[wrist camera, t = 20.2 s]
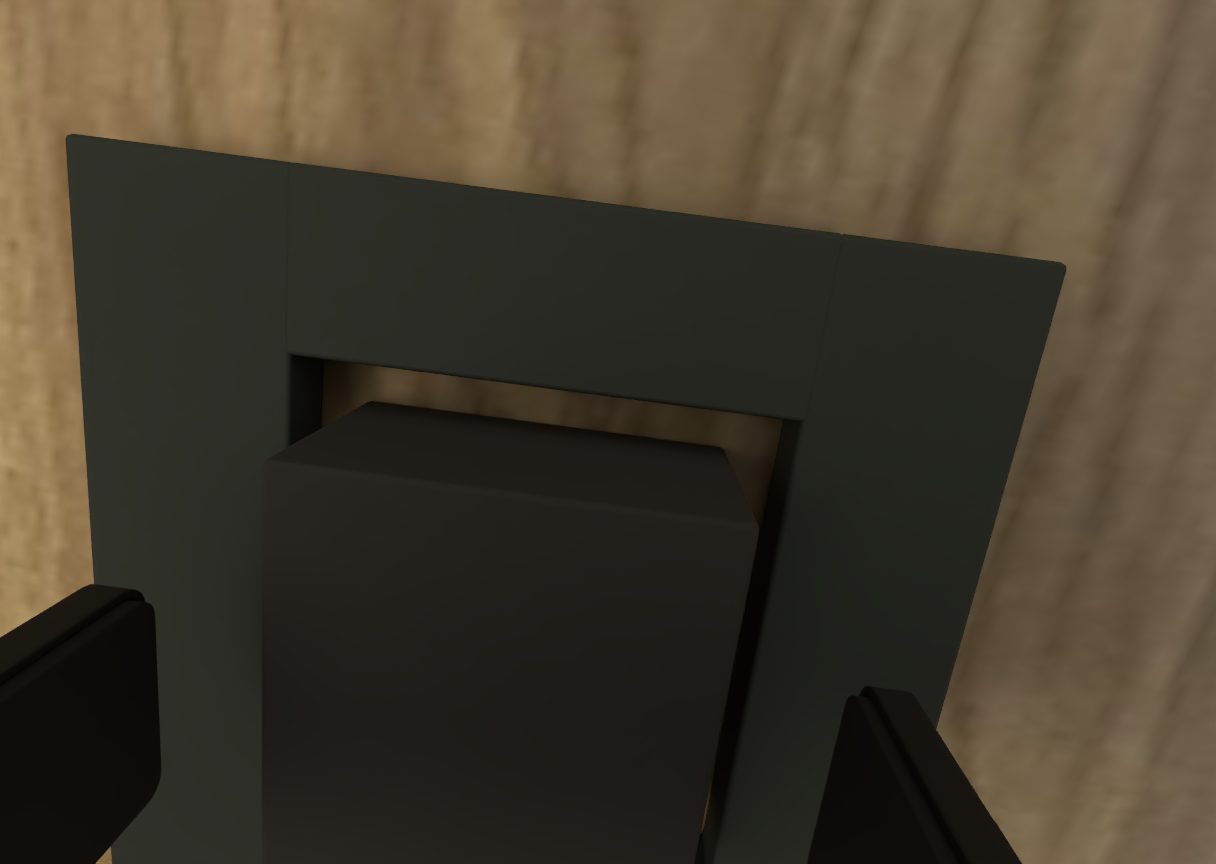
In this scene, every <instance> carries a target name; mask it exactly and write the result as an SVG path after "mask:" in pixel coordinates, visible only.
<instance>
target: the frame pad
mask: <svg viewBox="0 0 1216 864" xmlns="http://www.w3.org/2000/svg"><path fill="white" fill-rule="evenodd" d="M66 151H67V167H68V183H69V198H70V214H71V229H72V245H73V261H74V276H75V292H76V307H77V323H78V339H79V354H80V370H81V385H82V401H83V417H84V432H85V448H86V463H87V479H88V495H89V510H90V526H91V541H92V557H93V573H94V584H98V585H105V586H113V587H120V588H128V589H136V590H138V591H140V592H141V593H142V594H143V596H144V598H145V602H148V603H150V604H152V606H153V608H154V611H155V621H156V646H157V670H158V695H159V720H160V744H161V778H160V782H159V785H158V787H157V790H156V792H155V794H154V796H153V797H152V799H151V800H150V802H149V803H148V804H147V805H146V807H145V808H144V809H143V810H142V811H141V812H140V813H139V814H138V816H137V817H136V818H135V819H134V820H133V821H132V822H131V824H130V825H129V826H128V827H127V828H126V829H125V830H124V831H123V833H122V834H121V835H120V836H119V837H118V838H117V839H116V841H115V842H114V843H113V844H112V845H111V854H112V864H262V563H263V465H264V462H265V460H266V459H268V458H270V457H271V456H273V455H275V454H277V453H279V452H280V451H282V450H284V449H286V448H287V447H289V446H291V445H293V444H295V443H296V442H298V441H300V440H302V439H303V438H305V437H307V436H309V435H311V434H312V433H314V432H316V431H318V430H319V429H321V390H322V359H328V360H336V361H343V362H351V363H358V364H366V365H374V366H381V367H389V368H397V369H404V370H412V371H420V372H427V373H435V374H443V375H450V376H458V377H465V378H473V379H481V380H488V381H496V382H504V383H511V384H519V385H527V386H534V387H542V388H550V389H557V390H565V391H572V392H580V393H588V394H595V395H603V396H611V397H618V398H626V399H634V400H641V401H649V402H657V403H664V404H672V405H680V406H687V407H695V408H702V409H710V410H718V411H725V412H733V413H741V414H748V415H756V416H764V417H771V418H779V419H784V420H783V425H782V430H781V435H780V440H779V445H778V450H777V456H776V461H775V466H774V471H773V476H772V481H771V486H770V492H769V497H768V502H767V507H766V512H765V517H764V522H763V528H762V533H761V538H760V543H759V548H758V553H757V558H756V564H755V569H754V574H753V579H752V584H751V589H750V594H749V600H748V605H747V610H746V615H745V620H744V625H743V630H742V636H741V641H740V646H739V651H738V656H737V661H736V666H735V672H734V677H733V682H732V687H731V692H730V697H729V702H728V708H727V713H726V718H725V723H724V728H723V733H722V738H721V744H720V749H719V754H718V759H717V764H716V769H715V774H714V780H713V785H712V790H711V795H710V800H709V805H708V810H707V815H706V821H705V826H704V831H703V836H700V837H699V843H698V848H697V853H696V858H695V863H694V864H807V861H808V855H809V851H810V847H811V843H812V839H813V834H814V830H815V826H816V822H817V818H818V814H819V810H820V806H821V801H822V797H823V793H824V789H825V785H826V781H827V777H828V773H829V769H830V764H831V760H832V756H833V752H834V748H835V744H836V740H837V736H838V731H839V727H840V723H841V719H842V715H843V711H844V707H845V703H846V701H847V699H848V697H849V696H851V695H854V696H859V695H860V692H861V691H862V689H863V688H864V687H866V686H871V687H879V688H887V689H894V690H902V691H908V692H911V693H912V694H913V695H914V696H915V697H916V699H917V701H918V702H919V704H920V705H921V707H922V709H923V710H924V712H925V713H926V715H927V716H928V718H929V720H930V721H931V723H932V724H933V726H934V727H935V729H936V728H937V724H938V721H939V717H940V714H941V710H942V707H943V703H944V700H945V696H946V693H947V689H948V686H949V682H950V679H951V675H952V671H953V668H954V664H955V661H956V657H957V654H958V650H959V647H960V643H961V640H962V636H963V633H964V629H965V626H966V622H967V619H968V615H969V611H970V608H971V604H972V601H973V597H974V594H975V590H976V587H977V583H978V580H979V576H980V573H981V569H982V566H983V562H984V559H985V555H986V551H987V548H988V544H989V541H990V537H991V534H992V530H993V527H994V523H995V520H996V516H997V513H998V509H999V506H1000V502H1001V498H1002V495H1003V491H1004V488H1005V484H1006V481H1007V477H1008V474H1009V470H1010V467H1011V463H1012V460H1013V456H1014V453H1015V449H1016V446H1017V442H1018V438H1019V435H1020V431H1021V428H1022V424H1023V421H1024V417H1025V414H1026V410H1027V407H1028V403H1029V400H1030V396H1031V393H1032V389H1033V386H1034V382H1035V378H1036V375H1037V371H1038V368H1039V364H1040V361H1041V357H1042V354H1043V350H1044V347H1045V343H1046V340H1047V336H1048V333H1049V329H1050V326H1051V322H1052V318H1053V315H1054V311H1055V308H1056V304H1057V301H1058V297H1059V294H1060V290H1061V287H1062V283H1063V280H1064V276H1065V273H1066V266H1065V265H1064V264H1062V263H1061V262H1054V261H1046V260H1038V259H1031V258H1023V257H1015V256H1007V255H1000V254H992V253H984V252H977V251H969V250H961V249H954V248H946V247H938V246H931V245H923V244H915V243H907V242H900V241H892V240H884V239H877V238H869V237H861V236H854V235H846V234H843V235H841V234H839V233H831V232H823V231H816V230H808V229H800V228H793V227H785V226H777V225H769V224H762V223H754V222H746V221H739V220H731V219H723V218H716V217H708V216H700V215H693V214H685V213H677V212H669V211H662V210H654V209H646V208H639V207H631V206H623V205H616V204H608V203H600V202H593V201H585V200H577V199H570V198H562V197H554V196H546V195H539V194H531V193H523V192H516V191H508V190H500V189H493V188H485V187H477V186H470V185H462V184H454V183H446V182H439V181H431V180H423V179H416V178H408V177H400V176H393V175H385V174H377V173H370V172H362V171H354V170H347V169H339V168H331V167H323V166H316V165H308V164H300V163H291V162H285V161H277V160H270V159H262V158H254V157H247V156H239V155H231V154H224V153H216V152H208V151H201V150H193V149H185V148H177V147H170V146H162V145H154V144H147V143H139V142H131V141H124V140H116V139H108V138H101V137H93V136H85V135H77V134H71V135H67V137H66Z"/></svg>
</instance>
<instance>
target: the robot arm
mask: <svg viewBox="0 0 1216 864" xmlns="http://www.w3.org/2000/svg"><path fill="white" fill-rule="evenodd" d="M160 778H161V744H160V720H159V695H158V670H157V646H156V621H155V611H154V608H153V606H152V604H150V603H148V602H145V598H144V596H143V594H142V593H141V592H140V591H138V590H136V589H128V588H120V587H113V586H105V585H98V584H90V585H88V586H85V587H83V588H81V589H80V590H78V591H76V592H75V593H73V594H71V595H70V596H68V597H66V598H65V599H63V600H61V601H60V602H58V603H56V604H55V605H53V606H52V607H50V608H48V609H47V610H45V611H43V612H42V613H40V614H38V615H37V616H35V617H33V618H32V619H30V620H28V621H27V622H25V623H23V624H22V625H20V626H19V627H17V628H15V629H14V630H12V631H10V632H9V633H7V634H5V635H4V636H2V637H0V864H95V863H96V862H97V861H98V860H99V859H100V858H101V856H102V855H103V854H104V853H105V852H106V851H107V850H108V848H109V847H110V846H111V845H112V844H113V843H114V842H115V841H116V839H117V838H118V837H119V836H120V835H121V834H122V833H123V831H124V830H125V829H126V828H127V827H128V826H129V825H130V824H131V822H132V821H133V820H134V819H135V818H136V817H137V816H138V814H139V813H140V812H141V811H142V810H143V809H144V808H145V807H146V805H147V804H148V803H149V802H150V800H151V799H152V797H153V796H154V794H155V792H156V790H157V787H158V785H159V782H160ZM807 864H1022V863H1021V861H1020V860H1019V858H1018V857H1017V855H1016V854H1015V852H1014V850H1013V849H1012V847H1011V846H1010V844H1009V843H1008V841H1007V839H1006V838H1005V836H1004V835H1003V833H1002V832H1001V830H1000V828H999V827H998V825H997V824H996V822H995V821H994V820H993V819H992V817H991V816H990V814H989V812H988V811H987V809H986V808H985V806H984V805H983V803H982V801H981V800H980V798H979V797H978V795H977V793H976V792H975V790H974V789H973V787H972V786H971V784H970V782H969V781H968V779H967V778H966V776H965V775H964V773H963V771H962V770H961V768H960V767H959V765H958V764H957V762H956V760H955V759H954V757H953V756H952V754H951V753H950V751H949V749H948V748H947V746H946V745H945V743H944V742H943V740H942V738H941V737H940V735H939V734H938V732H937V731H936V729H935V727H934V726H933V724H932V723H931V721H930V720H929V718H928V716H927V715H926V713H925V712H924V710H923V709H922V707H921V705H920V704H919V702H918V701H917V699H916V697H915V696H914V695H913V694H912V693H911V692H908V691H902V690H894V689H887V688H879V687H871V686H866V687H864V688H863V689H862V691H861V692H860V695H859V696H854V695H851V696H849V697H848V699H847V701H846V703H845V707H844V711H843V715H842V719H841V723H840V727H839V731H838V736H837V740H836V744H835V748H834V752H833V756H832V760H831V764H830V769H829V773H828V777H827V781H826V785H825V789H824V793H823V797H822V801H821V806H820V810H819V814H818V818H817V822H816V826H815V830H814V834H813V839H812V843H811V847H810V851H809V855H808V861H807Z"/></svg>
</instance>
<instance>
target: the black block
mask: <svg viewBox="0 0 1216 864" xmlns="http://www.w3.org/2000/svg"><path fill="white" fill-rule="evenodd" d="M758 535H759V527H758V524H757V522H756V519H755V517H754V515H753V513H752V511H751V508H750V506H749V504H748V502H747V500H746V498H745V495H744V493H743V491H742V489H741V487H740V484H739V482H738V480H737V478H736V476H735V473H734V471H733V469H732V467H731V465H730V462H729V460H728V458H727V456H726V454H725V452H724V450H723V449H722V448H720V447H713V446H705V445H697V444H690V443H682V442H675V441H667V440H660V439H652V438H644V437H637V436H629V435H622V434H614V433H607V432H599V431H592V430H584V429H576V428H569V427H561V426H554V425H546V424H539V423H531V422H524V421H516V420H508V419H501V418H493V417H486V416H478V415H471V414H463V413H455V412H448V411H440V410H433V409H425V408H418V407H410V406H403V405H395V404H387V403H380V402H372V401H371V402H368V403H366V404H364V405H362V406H360V407H359V408H357V409H355V410H353V411H351V412H350V413H348V414H346V415H344V416H343V417H341V418H339V419H337V420H335V421H334V422H332V423H330V424H328V425H327V426H325V427H323V428H321V429H319V430H318V431H316V432H314V433H312V434H311V435H309V436H307V437H305V438H303V439H302V440H300V441H298V442H296V443H295V444H293V445H291V446H289V447H287V448H286V449H284V450H282V451H280V452H279V453H277V454H275V455H273V456H271V457H270V458H268V459H266V460H265V462H264V465H263V563H262V864H694V863H695V858H696V853H697V848H698V843H699V837H700V832H701V827H702V822H703V817H704V812H705V807H706V802H707V796H708V791H709V786H710V781H711V776H712V771H713V766H714V761H715V755H716V750H717V745H718V740H719V735H720V730H721V725H722V720H723V714H724V709H725V704H726V699H727V694H728V689H729V684H730V679H731V673H732V668H733V663H734V658H735V653H736V648H737V643H738V638H739V632H740V627H741V622H742V617H743V612H744V607H745V602H746V597H747V591H748V586H749V581H750V576H751V571H752V566H753V561H754V556H755V550H756V545H757V540H758Z"/></svg>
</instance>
